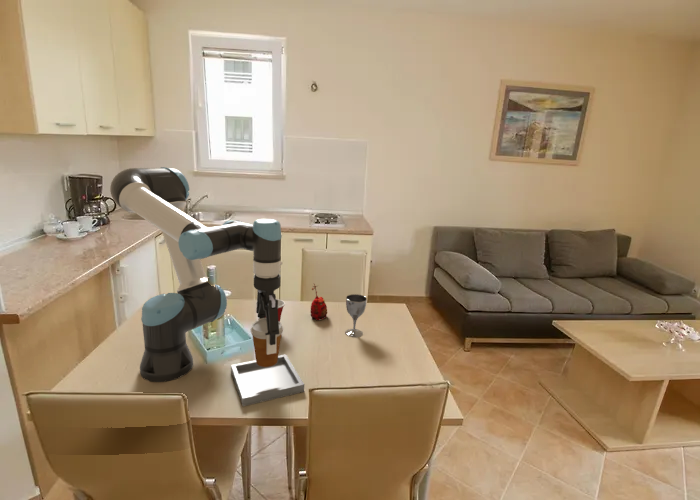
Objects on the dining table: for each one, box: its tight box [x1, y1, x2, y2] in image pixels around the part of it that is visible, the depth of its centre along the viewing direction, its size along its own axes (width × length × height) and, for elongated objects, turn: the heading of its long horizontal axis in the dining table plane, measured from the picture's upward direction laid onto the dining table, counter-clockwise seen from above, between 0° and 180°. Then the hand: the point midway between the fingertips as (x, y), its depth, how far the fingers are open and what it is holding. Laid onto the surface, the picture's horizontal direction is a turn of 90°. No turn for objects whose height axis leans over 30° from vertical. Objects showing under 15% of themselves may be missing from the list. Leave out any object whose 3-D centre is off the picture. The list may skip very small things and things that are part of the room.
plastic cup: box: [256, 298, 286, 323], centre depth 148 cm, size 11×11×12 cm
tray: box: [230, 353, 305, 407], centre depth 118 cm, size 18×18×2 cm
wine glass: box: [344, 293, 368, 338], centre depth 150 cm, size 8×8×15 cm
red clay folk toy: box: [310, 283, 328, 321], centre depth 162 cm, size 8×7×15 cm
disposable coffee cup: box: [250, 319, 284, 367], centre depth 115 cm, size 10×10×12 cm
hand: (267, 345), depth 115 cm, fingers closed on disposable coffee cup, 9 cm apart
